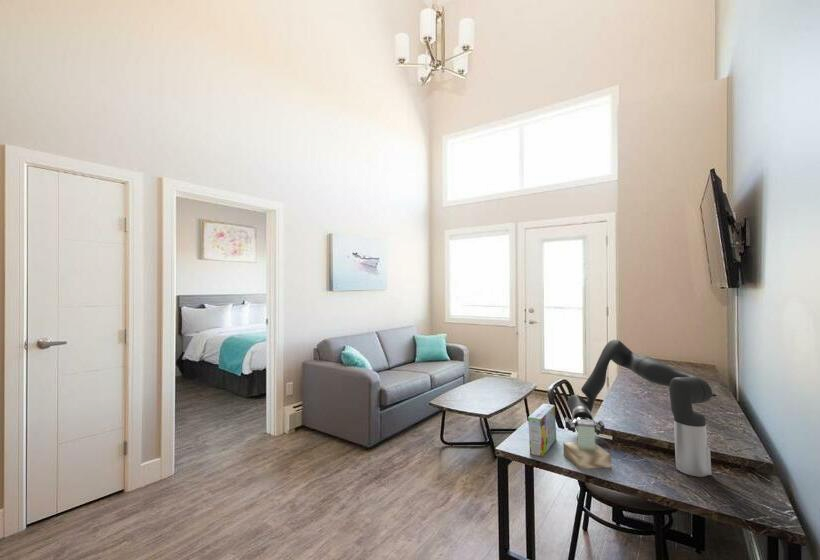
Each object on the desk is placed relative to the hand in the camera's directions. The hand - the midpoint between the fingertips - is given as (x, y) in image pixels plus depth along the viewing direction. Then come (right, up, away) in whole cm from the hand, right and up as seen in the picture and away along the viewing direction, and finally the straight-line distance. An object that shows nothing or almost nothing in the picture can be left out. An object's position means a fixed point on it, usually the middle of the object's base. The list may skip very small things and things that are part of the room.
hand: (585, 431), depth 139 cm
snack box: (-11, -13, +15) cm, 22 cm away
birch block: (+1, -12, +1) cm, 12 cm away
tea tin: (+1, -7, +2) cm, 7 cm away
